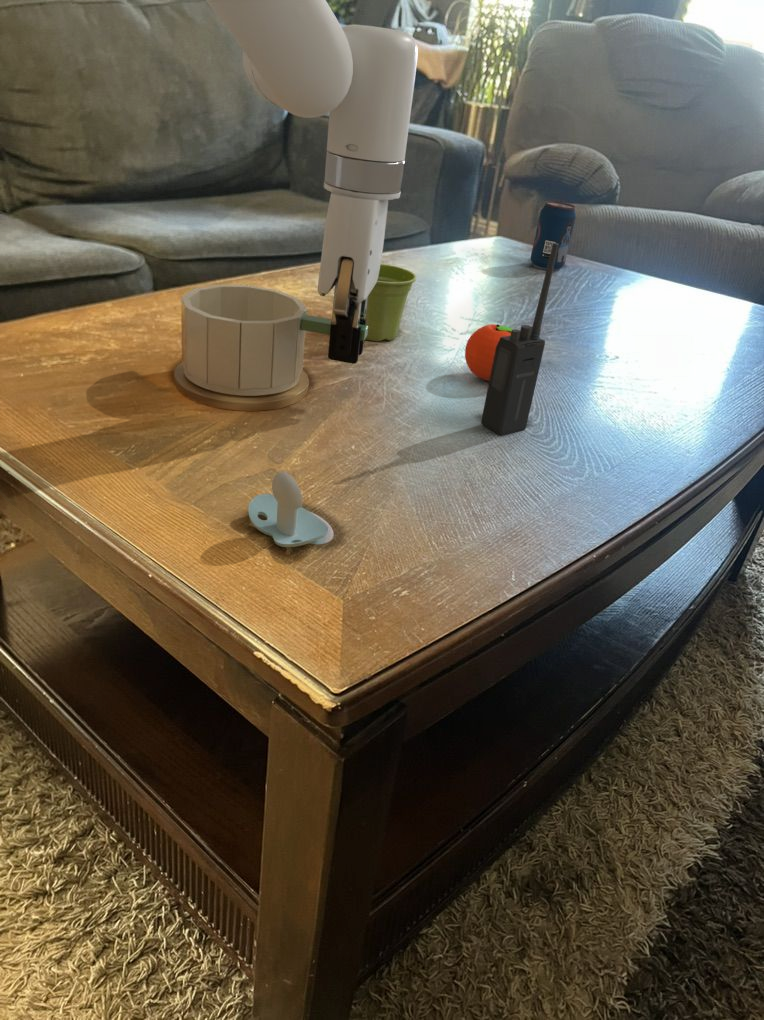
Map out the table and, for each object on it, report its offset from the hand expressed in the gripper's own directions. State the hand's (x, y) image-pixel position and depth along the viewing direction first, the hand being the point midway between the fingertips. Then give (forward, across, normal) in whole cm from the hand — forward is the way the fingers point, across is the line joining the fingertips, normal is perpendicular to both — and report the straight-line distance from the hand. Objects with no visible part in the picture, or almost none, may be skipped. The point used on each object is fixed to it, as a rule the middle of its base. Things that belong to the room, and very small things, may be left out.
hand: (345, 355), depth 85 cm
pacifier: (+6, +28, +2) cm, 29 cm away
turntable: (+5, 0, -12) cm, 13 cm away
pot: (+4, 0, -8) cm, 9 cm away
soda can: (+6, -83, +25) cm, 87 cm away
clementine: (+6, -15, +16) cm, 23 cm away
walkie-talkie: (+6, -1, +18) cm, 19 cm away
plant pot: (+6, -24, 0) cm, 25 cm away
